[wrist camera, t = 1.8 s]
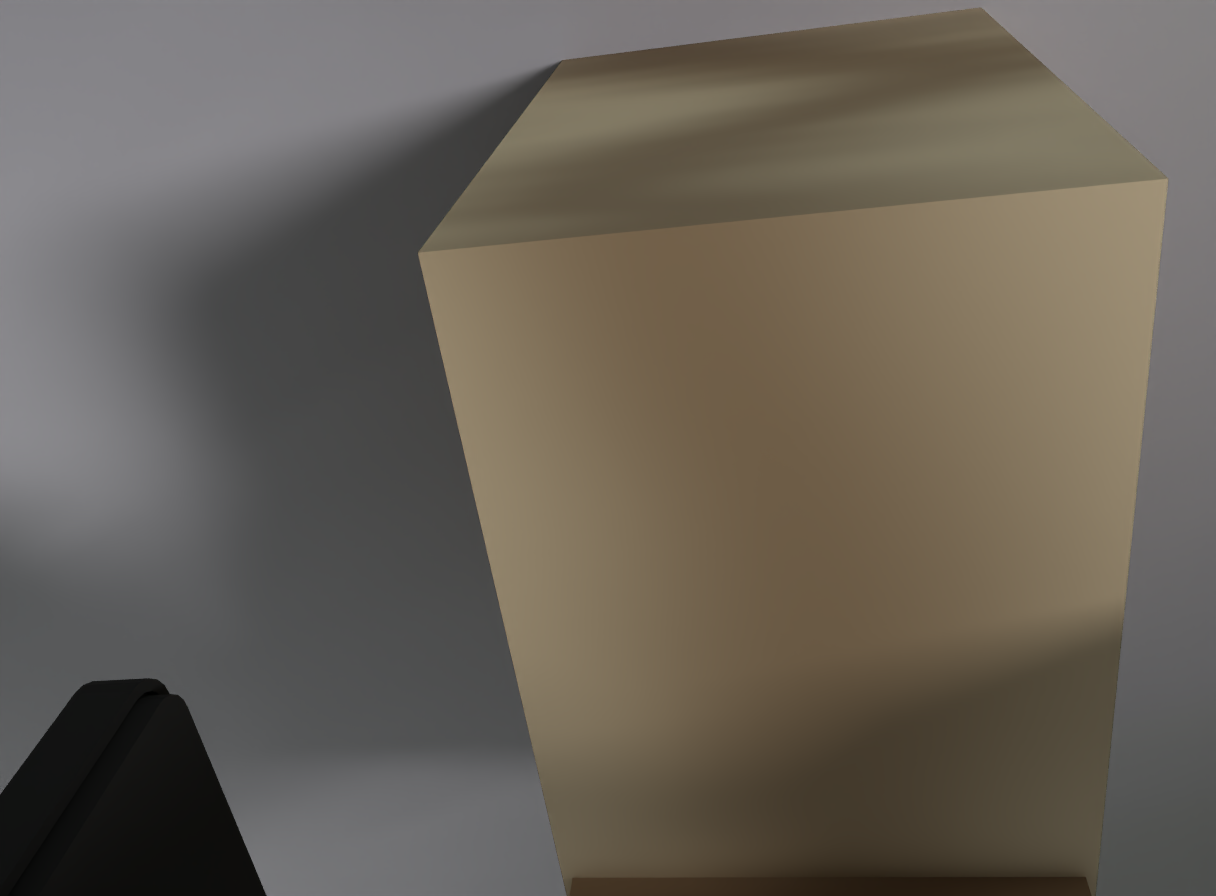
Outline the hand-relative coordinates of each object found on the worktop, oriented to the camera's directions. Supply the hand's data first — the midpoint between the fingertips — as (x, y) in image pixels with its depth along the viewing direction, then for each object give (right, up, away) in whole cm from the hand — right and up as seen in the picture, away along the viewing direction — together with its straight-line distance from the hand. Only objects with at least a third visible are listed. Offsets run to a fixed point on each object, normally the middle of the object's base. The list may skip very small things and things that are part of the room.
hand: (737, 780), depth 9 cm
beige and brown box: (+1, +4, +6) cm, 8 cm away
